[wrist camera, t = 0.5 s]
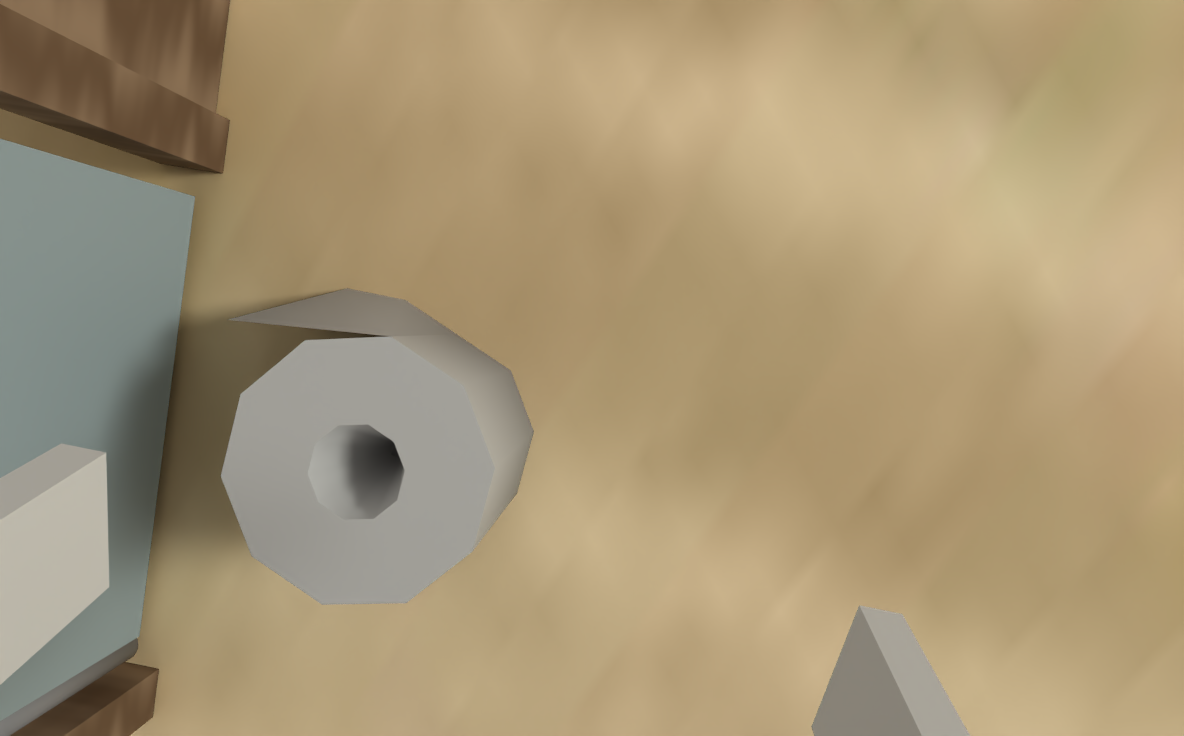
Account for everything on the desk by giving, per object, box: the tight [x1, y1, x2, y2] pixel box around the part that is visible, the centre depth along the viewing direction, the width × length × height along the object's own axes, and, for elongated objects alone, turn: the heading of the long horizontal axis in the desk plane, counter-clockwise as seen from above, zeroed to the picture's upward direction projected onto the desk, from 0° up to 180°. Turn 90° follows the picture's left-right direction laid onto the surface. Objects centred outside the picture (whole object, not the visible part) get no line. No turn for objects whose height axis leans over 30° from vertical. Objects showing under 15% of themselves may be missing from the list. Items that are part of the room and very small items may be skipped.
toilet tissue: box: [221, 288, 534, 604], centre depth 29 cm, size 9×13×9 cm
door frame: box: [0, 0, 230, 736], centre depth 26 cm, size 36×3×14 cm, turn 171°
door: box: [0, 139, 195, 736], centre depth 28 cm, size 22×3×10 cm, turn 171°
